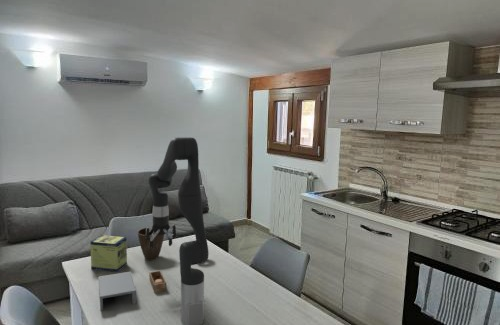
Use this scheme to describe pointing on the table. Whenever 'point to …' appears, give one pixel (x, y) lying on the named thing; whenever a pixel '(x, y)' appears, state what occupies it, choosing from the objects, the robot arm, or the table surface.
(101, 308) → the counter shelf
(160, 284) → the tray
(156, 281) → the beige rounded lump
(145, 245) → the plant pot
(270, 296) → the table surface
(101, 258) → the protein box
